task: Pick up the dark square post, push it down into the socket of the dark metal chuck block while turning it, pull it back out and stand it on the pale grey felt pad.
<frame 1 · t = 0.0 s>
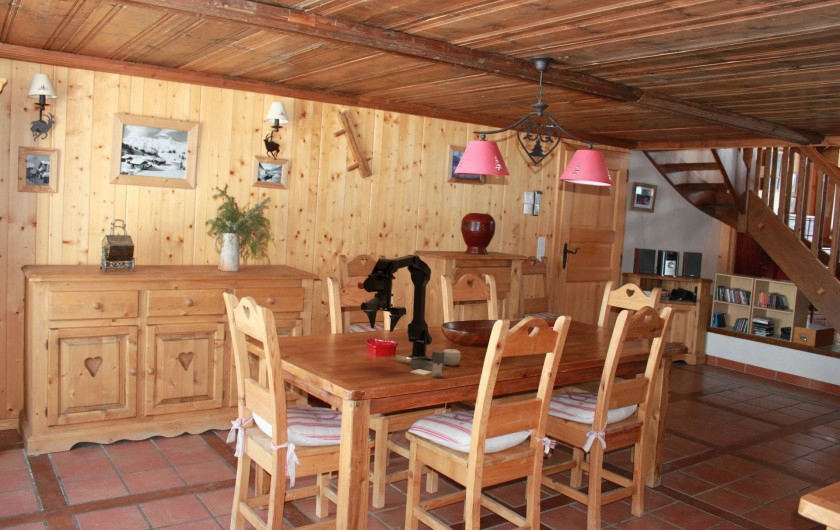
hand: (381, 330, 281), 15 cm above the table, fingers open, 9 cm apart
dark square post: (436, 376, 273), on the table
pad: (421, 373, 277), on the table
chuck block: (427, 368, 286), on the table
apple: (450, 365, 295), on the table
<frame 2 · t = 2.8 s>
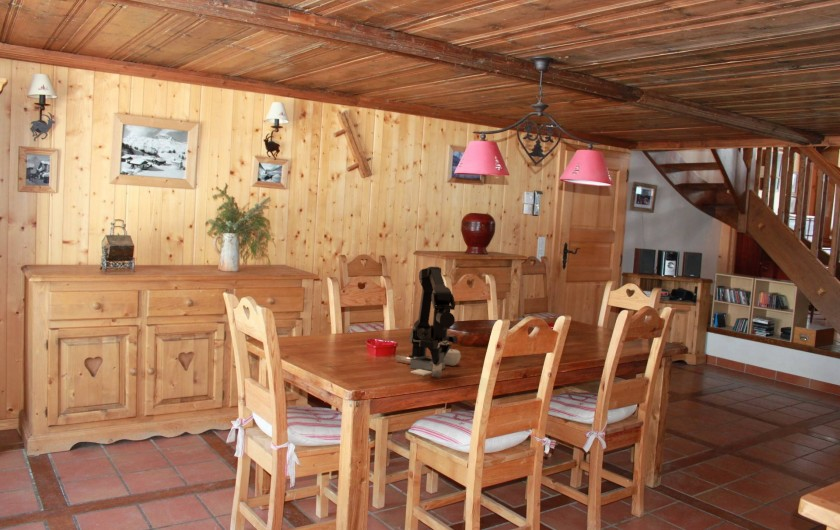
hand: (437, 363, 272), 5 cm above the table, fingers closed on dark square post, 3 cm apart
dark square post: (436, 376, 273), on the table, touching gripper
everything else where it was.
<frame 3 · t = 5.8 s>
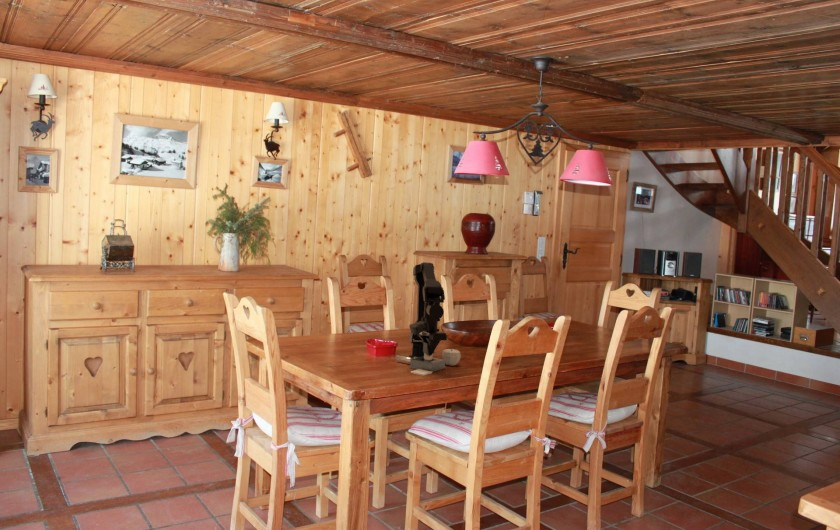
hand: (428, 353, 285), 6 cm above the table, fingers closed on dark square post, 3 cm apart
dark square post: (427, 366, 286), point 1 cm above the table, touching gripper
everything else where it was.
when the fingers open (6 cm above the table, at t = 9.1 s): dark square post stays where it is, resting on pad.
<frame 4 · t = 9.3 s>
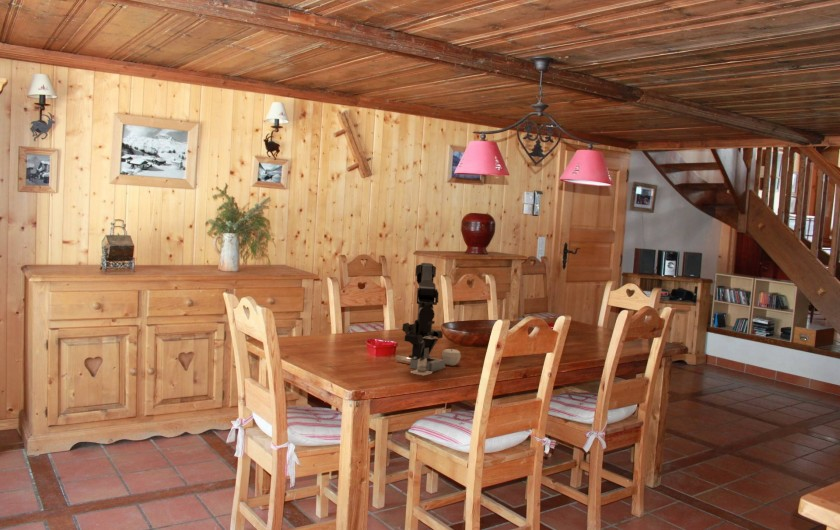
hand: (422, 357, 276), 6 cm above the table, fingers open, 6 cm apart
dark square post: (421, 371, 277), point 1 cm above the table, touching pad
everything else where it was.
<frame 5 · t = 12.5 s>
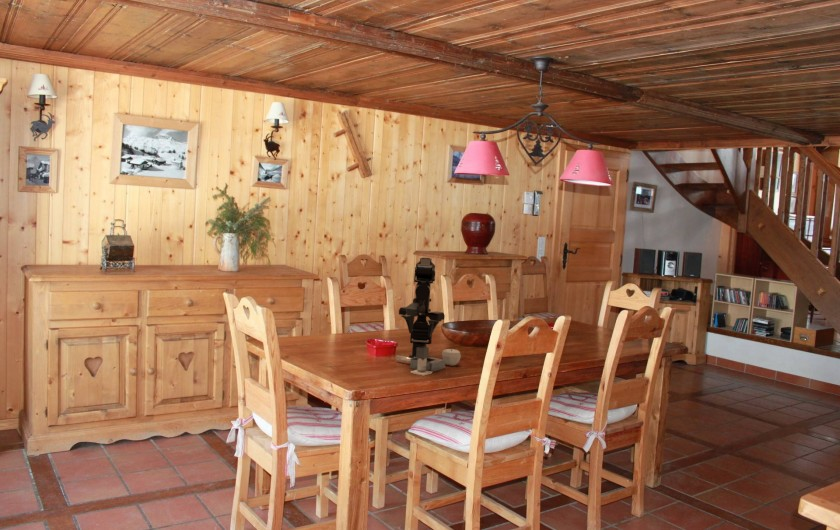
hand: (420, 334, 286), 13 cm above the table, fingers open, 9 cm apart
nothing on the table moved.
at the end: dark square post inside the target area on the pad (0.1 cm from its centre), point 0.6 cm above the pad's base; dark square post tilted 2°; the gripper is holding nothing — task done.
